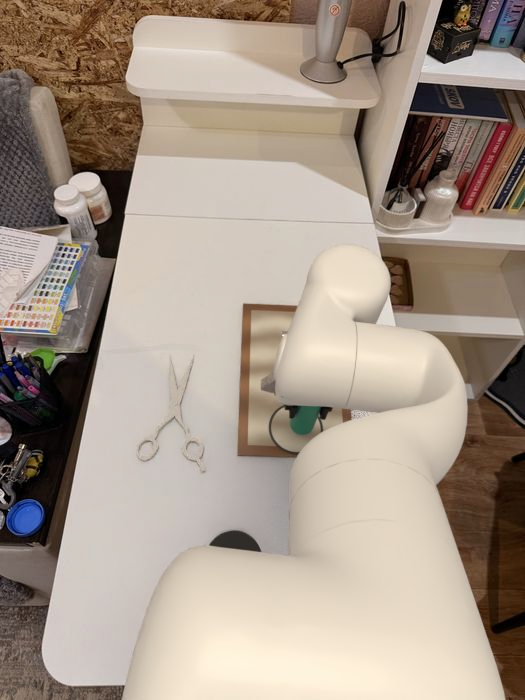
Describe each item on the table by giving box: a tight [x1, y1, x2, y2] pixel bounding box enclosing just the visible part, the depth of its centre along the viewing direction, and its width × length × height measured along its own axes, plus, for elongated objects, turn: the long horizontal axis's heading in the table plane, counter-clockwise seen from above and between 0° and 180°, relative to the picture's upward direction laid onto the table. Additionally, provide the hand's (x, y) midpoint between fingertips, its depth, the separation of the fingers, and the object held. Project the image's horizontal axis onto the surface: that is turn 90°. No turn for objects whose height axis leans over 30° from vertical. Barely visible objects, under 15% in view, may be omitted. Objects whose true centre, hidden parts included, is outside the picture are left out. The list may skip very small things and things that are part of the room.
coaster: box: [208, 530, 262, 552], centre depth 71 cm, size 8×8×1 cm
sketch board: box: [236, 302, 353, 459], centre depth 85 cm, size 28×18×1 cm, turn 179°
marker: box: [290, 405, 322, 435], centre depth 71 cm, size 4×4×12 cm
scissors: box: [135, 355, 206, 473], centre depth 81 cm, size 11×1×20 cm
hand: (306, 408), depth 71 cm, fingers closed on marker, 3 cm apart
